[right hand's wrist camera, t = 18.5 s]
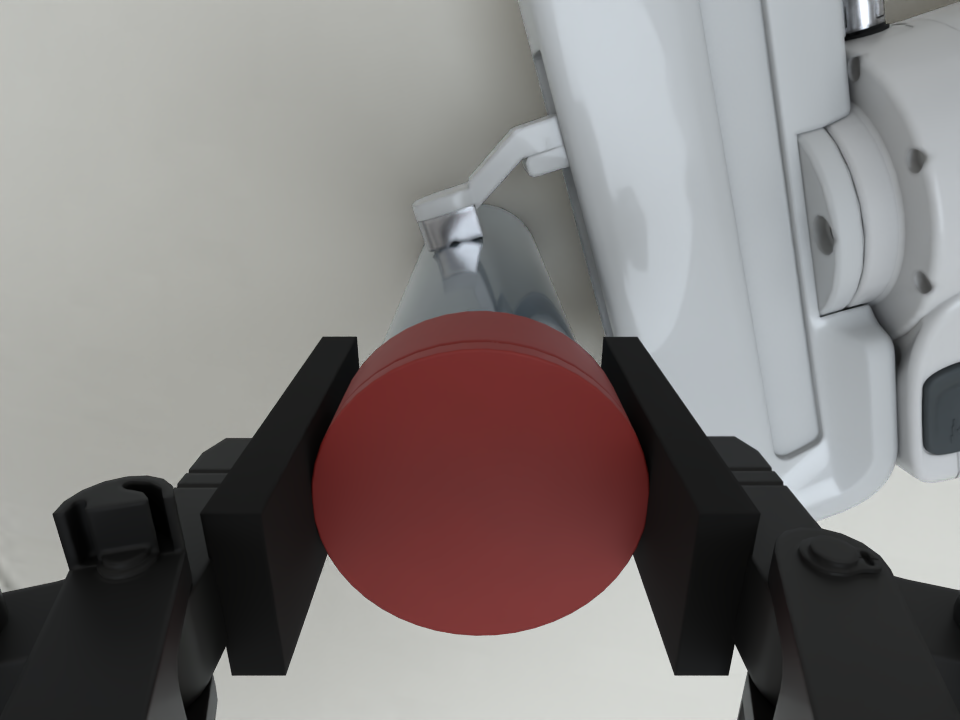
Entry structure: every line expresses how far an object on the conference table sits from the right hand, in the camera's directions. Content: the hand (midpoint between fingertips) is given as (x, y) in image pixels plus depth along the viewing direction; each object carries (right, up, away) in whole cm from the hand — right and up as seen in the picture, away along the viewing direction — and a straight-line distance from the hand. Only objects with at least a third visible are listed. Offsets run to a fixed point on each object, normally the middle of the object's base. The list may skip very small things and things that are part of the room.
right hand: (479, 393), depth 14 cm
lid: (0, -2, -4) cm, 4 cm away
